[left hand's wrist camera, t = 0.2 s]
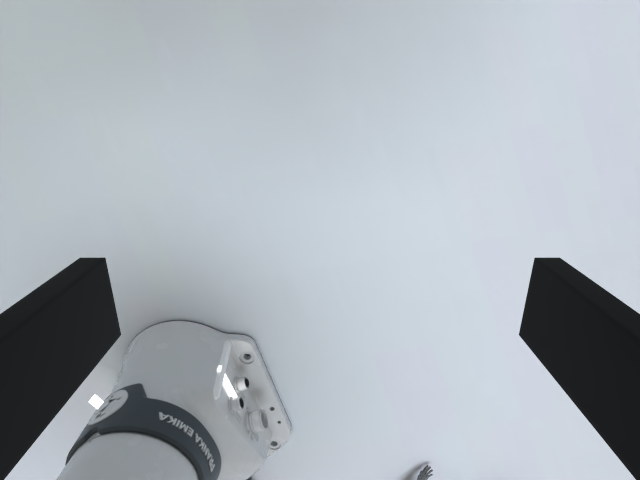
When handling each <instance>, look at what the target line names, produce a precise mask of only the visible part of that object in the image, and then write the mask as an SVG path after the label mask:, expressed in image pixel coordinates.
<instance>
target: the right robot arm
mask: <svg viewBox="0 0 640 480" xmlns="http://www.w3.org/2000/svg"><path fill="white" fill-rule="evenodd" d="M245 354H250V355H251V356H247V355H245ZM89 403H91V404H92V405H93V406H94V407H96V408H97V410H96V412H95V413H94V414H93V416H92V417H91V419H90V420H89V422H88V424H87V426H86V427H85V428H84V430H83V431H82V433H81V435H80V436H79V438H78V439H77V441H76V442H75V444H74V446H73V447H72V449H71V450H70V452H69V454H68V457H67V460H66V466H65V468H64V469H63V471H62V472H61V474H60V475H59V477H58V478H57V480H251V476H252V475H254V474H255V473H256V472H257V471H258V470H259V469H260V468H261V467H262V465H263V464H264V462H265V460H266V458H267V457H268V456H270V455H271V454H273V453H274V452H276V451H277V450H278V449H280V448H281V447H282V446H283V445H284V444H285V443H286V442H287V440H288V439H289V437H290V436H291V432H292V426H291V424H290V421H289V419H288V416H287V414H286V412H285V410H284V407H283V405H282V403H281V400H280V398H279V396H278V393H277V391H276V389H275V387H274V384H273V382H272V380H271V377H270V375H269V373H268V370H267V368H266V366H265V364H264V361H263V359H262V357H261V354H260V352H259V350H258V347H257V345H256V343H255V341H254V340H253V339H252V338H251V337H249V336H246V335H240V334H226V333H222V332H220V331H217V330H215V329H213V328H210V327H208V326H205V325H202V324H199V323H194V322H188V321H169V322H163V323H159V324H156V325H153V326H151V327H149V328H147V329H145V330H144V331H142V332H141V333H140V334H138V335H137V336H136V337H135V338H134V339H133V341H132V342H131V343H130V345H129V347H128V349H127V351H126V354H125V358H124V363H123V366H122V370H121V372H120V375H119V377H118V380H117V382H116V384H115V386H114V388H113V390H112V392H111V394H110V396H109V397H108V398H107V399H106V400H105V401H102V400H101V399H100V398H99V397H97V396H96V395H94V396H93V397H92V398H91V400H90V401H89ZM274 441H275V442H274Z"/></svg>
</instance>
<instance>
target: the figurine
mask: <svg viewBox="0 0 640 480" xmlns="http://www.w3.org/2000/svg"><path fill="white" fill-rule="evenodd" d="M427 467H428V465H427V466H426V467H425V468H424V469H423V470H422V471H421V472H420V474H419V475H418V478H417V480H427V479H428V478H429V477H430V476H432V475H433V474H430V473H431V472H432V471H433V470H430V471H429V472H428V473H427V471H428V470H429V469H430V468H431V467H428V468H427ZM428 474H430V475H428ZM427 475H428V476H427Z"/></svg>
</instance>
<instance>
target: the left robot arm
mask: <svg viewBox="0 0 640 480" xmlns="http://www.w3.org/2000/svg"><path fill="white" fill-rule="evenodd" d="M120 335H121V332H120V327H119V323H118V318H117V313H116V308H115V303H114V298H113V293H112V288H111V283H110V278H109V274H108V269H107V264H106V259H105V258H79V259H78V260H76V261H75V262H74V263H72V264H71V265H69V266H68V267H67V268H65V269H64V270H62V271H61V272H59V273H58V274H57V275H55V276H54V277H52V278H51V279H49V280H48V281H47V282H45V283H44V284H42V285H41V286H40V287H38V288H37V289H35V290H34V291H32V292H31V293H30V294H28V295H27V296H25V297H24V298H23V299H21V300H20V301H18V302H17V303H15V304H14V305H13V306H11V307H10V308H8V309H7V310H6V311H4V312H3V313H1V314H0V480H4V479H5V478H6V476H7V475H8V474H9V473H10V471H11V470H12V469H13V468H14V466H15V465H16V464H17V463H18V462H19V460H20V459H21V458H22V457H23V455H24V454H25V453H26V452H27V450H28V449H29V448H30V447H31V445H32V444H33V443H34V442H35V441H36V439H37V438H38V437H39V436H40V434H41V433H42V432H43V431H44V429H45V428H46V427H47V426H48V424H49V423H50V422H51V421H52V419H53V418H54V417H55V416H56V415H57V413H58V412H59V411H60V410H61V408H62V407H63V406H64V405H65V403H66V402H67V401H68V400H69V398H70V397H71V396H72V395H73V394H74V392H75V391H76V390H77V389H78V387H79V386H80V385H81V384H82V382H83V381H84V380H85V379H86V377H87V376H88V375H89V374H90V372H91V371H92V370H93V369H94V368H95V366H96V365H97V364H98V363H99V361H100V360H101V359H102V358H103V356H104V355H105V354H106V353H107V351H108V350H109V349H110V348H111V347H112V345H113V344H114V343H115V342H116V340H117V339H118V338H119V337H120ZM519 335H520V337H521V338H522V339H523V340H524V342H525V343H526V344H527V345H528V347H529V348H530V349H531V350H532V351H533V353H534V354H535V355H536V356H537V358H538V359H539V360H540V361H541V363H542V364H543V365H544V366H545V368H546V369H547V370H548V371H549V372H550V374H551V375H552V376H553V377H554V379H555V380H556V381H557V382H558V384H559V385H560V386H561V387H562V389H563V390H564V391H565V392H566V394H567V395H568V396H569V397H570V398H571V400H572V401H573V402H574V403H575V405H576V406H577V407H578V408H579V410H580V411H581V412H582V413H583V415H584V416H585V417H586V418H587V419H588V421H589V422H590V423H591V424H592V426H593V427H594V428H595V429H596V431H597V432H598V433H599V434H600V436H601V437H602V438H603V439H604V441H605V442H606V443H607V444H608V445H609V447H610V448H611V449H612V450H613V452H614V453H615V454H616V455H617V457H618V458H619V459H620V460H621V462H622V463H623V464H624V465H625V466H626V468H627V469H628V470H629V471H630V473H631V474H632V475H633V476H634V478H635V479H636V480H640V314H639V313H637V312H636V311H634V310H633V309H632V308H630V307H629V306H627V305H626V304H625V303H623V302H622V301H620V300H619V299H617V298H616V297H615V296H613V295H612V294H610V293H609V292H608V291H606V290H605V289H603V288H602V287H600V286H599V285H598V284H596V283H595V282H593V281H592V280H591V279H589V278H588V277H586V276H585V275H583V274H582V273H581V272H579V271H578V270H576V269H575V268H573V267H572V266H571V265H569V264H568V263H566V262H565V261H564V260H562V259H561V258H535V259H534V264H533V269H532V274H531V278H530V283H529V288H528V293H527V298H526V303H525V308H524V313H523V318H522V323H521V327H520V332H519Z"/></svg>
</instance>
